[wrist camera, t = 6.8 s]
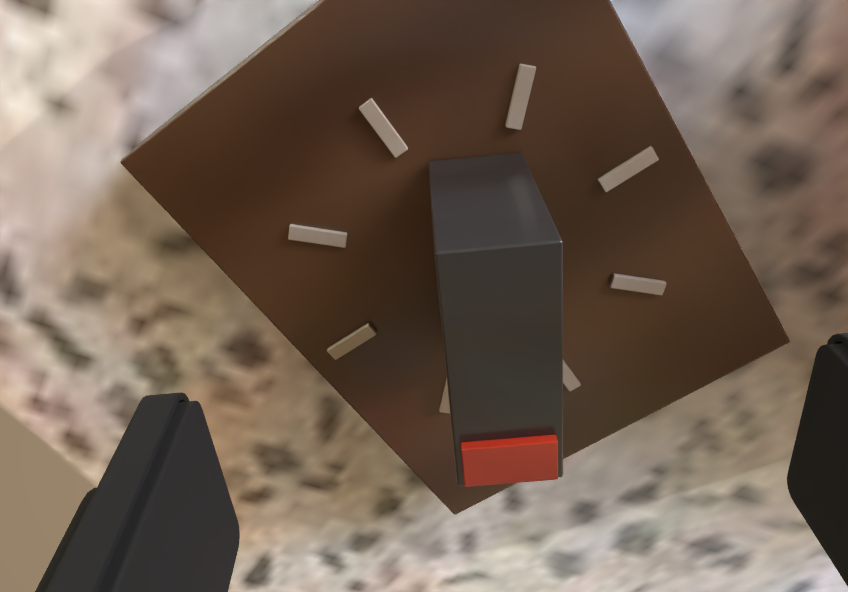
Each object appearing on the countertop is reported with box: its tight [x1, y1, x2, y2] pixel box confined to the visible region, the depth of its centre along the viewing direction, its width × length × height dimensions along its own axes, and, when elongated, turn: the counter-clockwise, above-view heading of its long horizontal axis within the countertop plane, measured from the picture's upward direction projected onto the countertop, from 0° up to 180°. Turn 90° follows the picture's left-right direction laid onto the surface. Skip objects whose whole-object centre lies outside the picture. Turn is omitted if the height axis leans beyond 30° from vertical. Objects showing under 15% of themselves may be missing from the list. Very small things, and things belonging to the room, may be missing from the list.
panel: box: [121, 0, 790, 514], centre depth 19 cm, size 14×11×3 cm
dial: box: [428, 153, 563, 487], centre depth 15 cm, size 5×2×5 cm, turn 6°
